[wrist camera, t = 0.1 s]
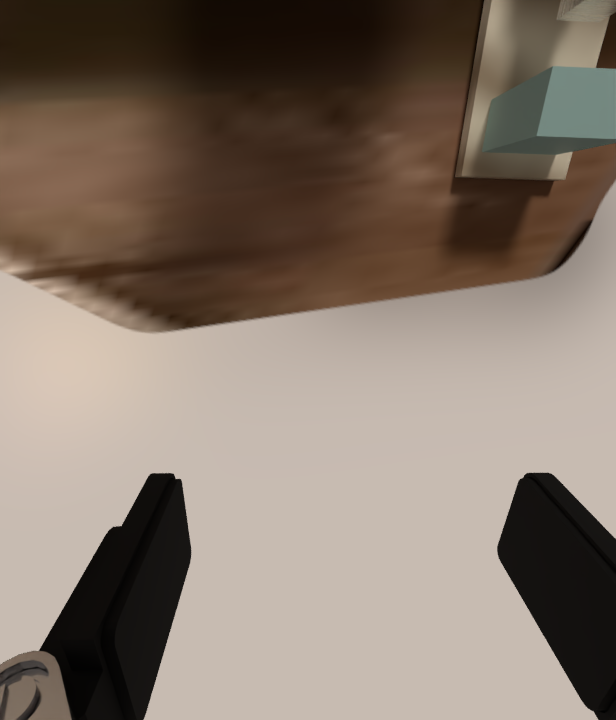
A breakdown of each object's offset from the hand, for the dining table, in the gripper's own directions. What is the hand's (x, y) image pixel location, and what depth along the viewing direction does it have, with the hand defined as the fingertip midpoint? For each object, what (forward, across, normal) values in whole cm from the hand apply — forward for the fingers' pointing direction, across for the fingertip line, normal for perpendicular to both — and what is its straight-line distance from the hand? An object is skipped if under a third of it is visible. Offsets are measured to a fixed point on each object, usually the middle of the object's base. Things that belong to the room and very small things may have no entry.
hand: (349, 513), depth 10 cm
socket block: (+30, -19, -15) cm, 38 cm away
